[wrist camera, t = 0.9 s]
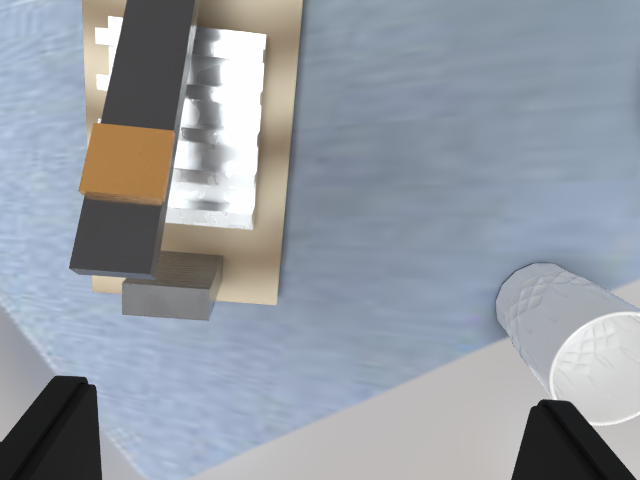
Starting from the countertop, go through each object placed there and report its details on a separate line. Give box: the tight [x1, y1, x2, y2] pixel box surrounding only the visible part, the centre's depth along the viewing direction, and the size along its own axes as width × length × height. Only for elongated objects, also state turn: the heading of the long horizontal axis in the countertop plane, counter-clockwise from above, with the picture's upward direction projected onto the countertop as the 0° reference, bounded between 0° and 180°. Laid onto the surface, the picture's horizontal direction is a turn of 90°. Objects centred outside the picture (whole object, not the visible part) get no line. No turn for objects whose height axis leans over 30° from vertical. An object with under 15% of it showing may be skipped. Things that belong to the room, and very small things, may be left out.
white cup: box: [495, 263, 640, 426], centre depth 34 cm, size 8×8×10 cm
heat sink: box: [95, 16, 267, 321], centre depth 29 cm, size 22×9×6 cm, turn 174°
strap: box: [69, 0, 201, 280], centre depth 22 cm, size 18×4×2 cm
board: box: [82, 0, 303, 305], centre depth 33 cm, size 24×13×2 cm, turn 174°
